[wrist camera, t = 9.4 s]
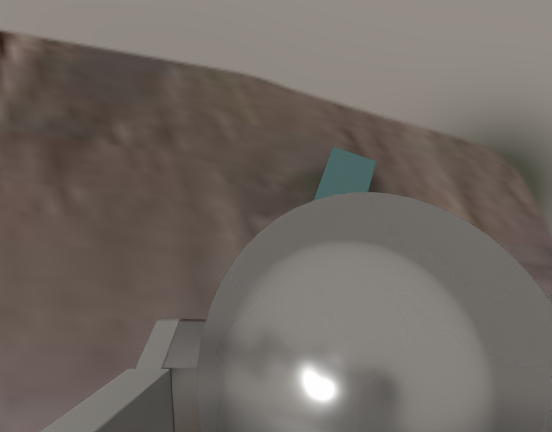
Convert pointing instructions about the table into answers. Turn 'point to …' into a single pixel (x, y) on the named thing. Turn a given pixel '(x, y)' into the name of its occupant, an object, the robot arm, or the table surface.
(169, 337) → the robot arm
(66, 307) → the table surface
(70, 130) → the table surface
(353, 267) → the cylinder on square base
